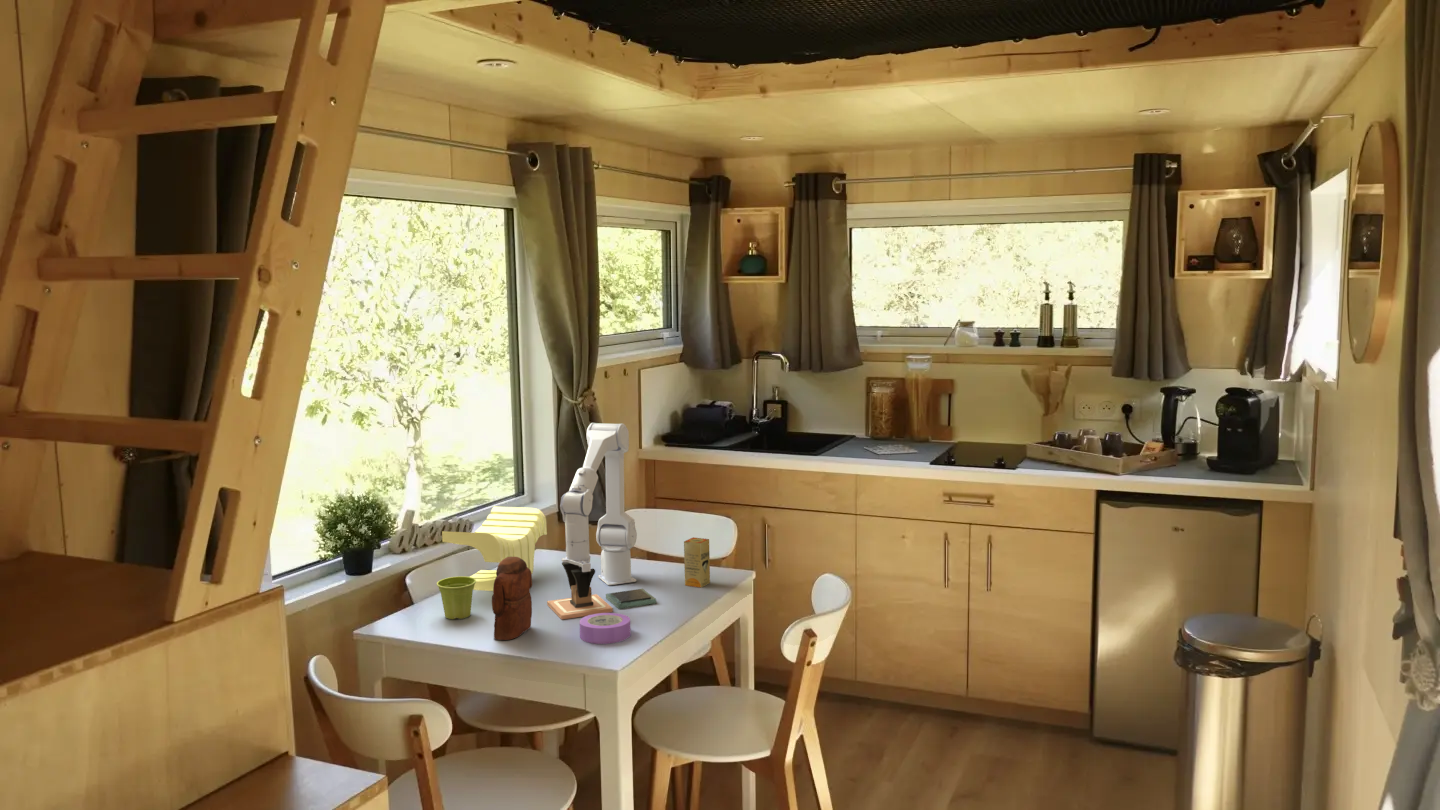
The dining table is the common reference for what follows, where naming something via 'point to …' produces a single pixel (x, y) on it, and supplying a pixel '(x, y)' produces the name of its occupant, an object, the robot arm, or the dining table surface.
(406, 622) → the dining table surface
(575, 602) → the walnut stamp
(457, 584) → the plant pot
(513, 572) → the wooden figurine
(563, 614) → the marked board
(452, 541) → the slatted curved stool
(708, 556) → the shoe polish box
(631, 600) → the ink pad
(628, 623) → the masking tape
